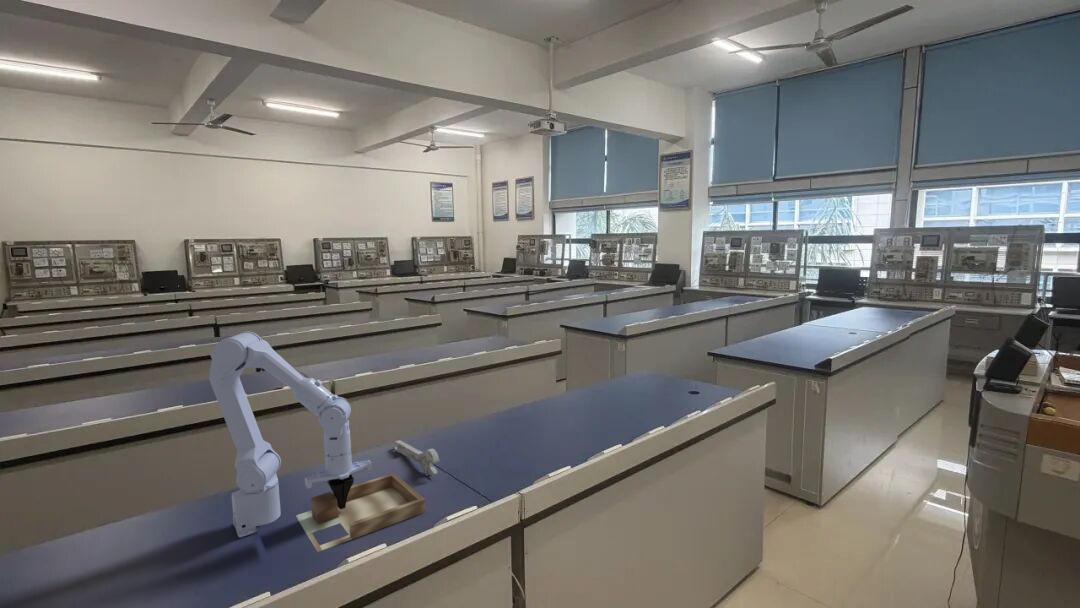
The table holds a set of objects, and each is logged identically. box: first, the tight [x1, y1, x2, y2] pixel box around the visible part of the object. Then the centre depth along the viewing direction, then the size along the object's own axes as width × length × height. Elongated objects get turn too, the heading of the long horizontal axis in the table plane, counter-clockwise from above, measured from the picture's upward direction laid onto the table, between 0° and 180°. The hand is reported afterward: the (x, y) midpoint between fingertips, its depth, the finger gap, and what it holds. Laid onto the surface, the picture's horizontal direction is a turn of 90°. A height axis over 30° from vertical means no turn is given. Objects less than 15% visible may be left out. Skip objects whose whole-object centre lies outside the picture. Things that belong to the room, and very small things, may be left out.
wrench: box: [393, 439, 440, 477], centre depth 145 cm, size 8×2×30 cm
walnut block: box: [310, 491, 338, 524], centre depth 114 cm, size 4×4×4 cm
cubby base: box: [295, 472, 426, 553], centre depth 116 cm, size 24×18×4 cm
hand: (341, 507), depth 117 cm, fingers closed
